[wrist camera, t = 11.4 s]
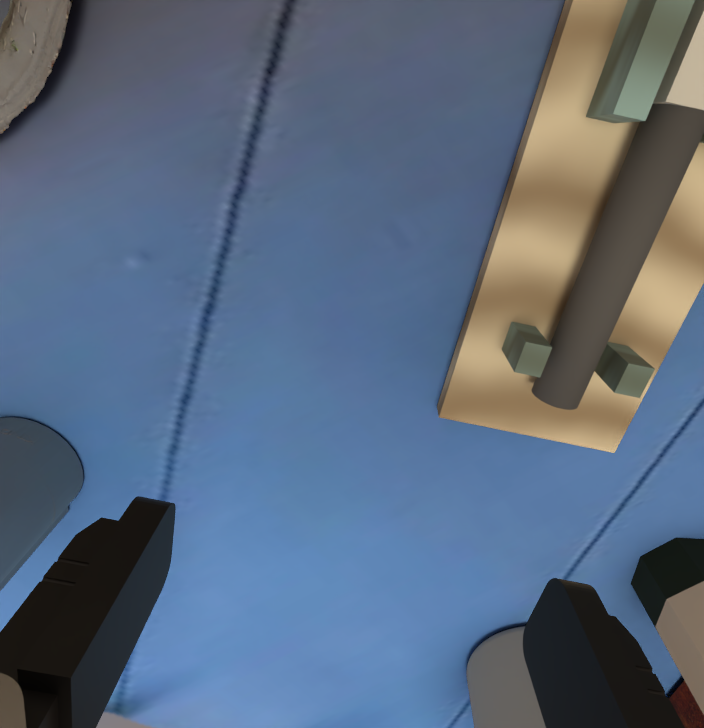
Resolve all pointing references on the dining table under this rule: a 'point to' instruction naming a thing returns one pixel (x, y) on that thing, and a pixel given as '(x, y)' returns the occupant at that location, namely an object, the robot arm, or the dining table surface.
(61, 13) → the food plate
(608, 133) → the board
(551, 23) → the dining table surface
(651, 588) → the wine bottle
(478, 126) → the dining table surface
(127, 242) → the dining table surface
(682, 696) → the handbag
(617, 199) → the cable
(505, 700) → the cylinder vase
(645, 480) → the dining table surface
